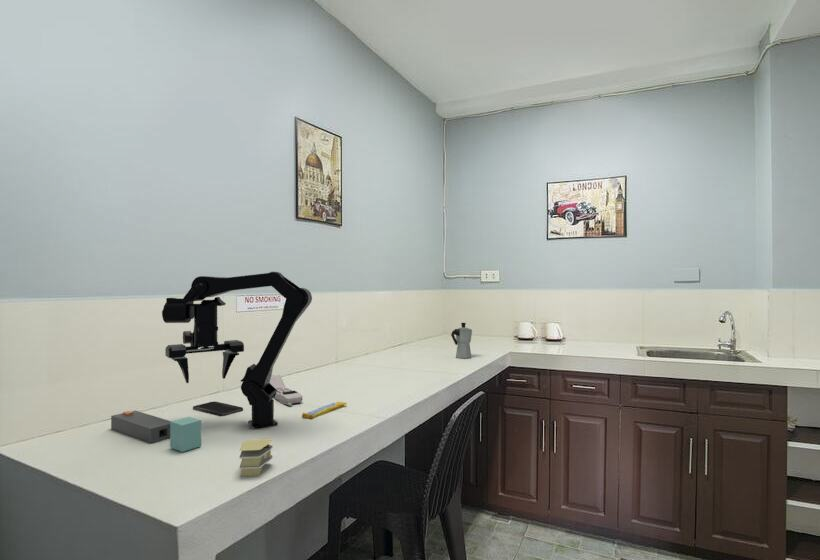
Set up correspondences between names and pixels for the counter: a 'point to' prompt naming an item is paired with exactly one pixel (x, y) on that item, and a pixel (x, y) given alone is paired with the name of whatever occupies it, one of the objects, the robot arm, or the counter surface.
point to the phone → (218, 408)
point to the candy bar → (323, 410)
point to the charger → (185, 434)
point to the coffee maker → (462, 341)
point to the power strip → (141, 426)
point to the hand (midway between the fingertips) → (205, 380)
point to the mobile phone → (284, 391)
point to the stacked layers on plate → (255, 456)
